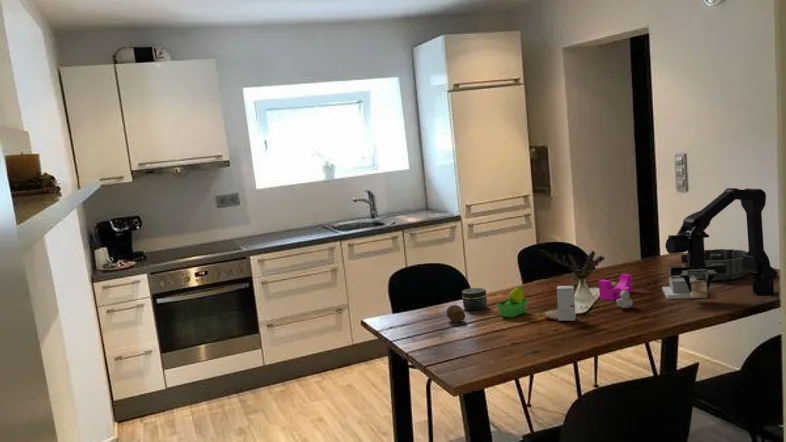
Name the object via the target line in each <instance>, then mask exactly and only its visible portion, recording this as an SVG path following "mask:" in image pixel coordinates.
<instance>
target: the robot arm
mask: <svg viewBox="0 0 786 442" xmlns="http://www.w3.org/2000/svg"><path fill="white" fill-rule="evenodd" d="M736 200H739V201H740V205H741V207H742V209H743V210H744V212H745V214H746V226H747V228H746V229H747V242H748V243H747V244H748V246H747V247H748V250H747V252H748V253H747V255H743V266H744V267H745V269H746V270H747V271H748V272H747V274H748V275H749V277H752V280H750V287H751V288H750V289H751V292H752V293H754V295H756V296H760V295H761V296H762V295H764V296H765V295H768V296H769V295H776V292H775V288H774V287H775V286H774V279H776V278H777V277H778V271H776V270H775V269H774V268H773V267H772V266H771V262H770V259H769V256H768V255H767V253H766V252H765V247H764V233H763V218H762V217H763V216H762V215H763V214H762V212H763V210H764V208H765V206H766V203H767V202H766V201H767V193H766V191H764V190H763V189H761V188H744V189H740V188H737V187H736V188H734V187H727V188H726V189H724V191H723V192H722V193H721V194H719V195H718V196H716V197H715V198H714V199H713V200H712V201H711V202H709V203H708V204H707V205H706V206H705V207H704V208H702V209H700V210H699V211H696V212H693V213H691V214H690V215H688V216H686V217H684V219H683V220H682V225H681V226H680V228H679V230H678V232H677V233H676V234H671V235H668V238H667V239H666V241H665V250H666V252H667V253H668V254H669V255H673V254H680V264H684V265H685V264H686V263H687V266H688V267H685V266H681V265H680V264H673V265H671V264H670V265H669V266H668V273H669V274H670V276H671V277H675V276H680V277H683V278H684V280H685V282H686V284H687V287H688V289H689V291H690V293H691V284H690V278H689V275H688V272H700V271H705V275H706V280H705V282H706V283H707V292H708V291H709V288H710V285H711V283H712V282H713V281H712V279H713V277H714V276H717V274H716V272H717V273H727V268H726V266H725V265H724V264H723V263H712V265H711V266H705V250H706V249H705V239H706V238H710V235H709V234H708V233H707V232H706V231H705V230H706V229H708V227H709V226H710V224H711V222H712V220H713V219H714V218H715V217H716V216H717V215H719V214H720V213H721V212H722V211H724V210H725V208H727V207H728V206H729V205H731V204H732V203H733V202H734V201H736ZM682 253H687V254H688V256H686V255H684V254H682ZM692 269H693V270H692Z"/></svg>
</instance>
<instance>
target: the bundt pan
mask: <svg viewBox="0 0 786 442" xmlns="http://www.w3.org/2000/svg"><path fill="white" fill-rule="evenodd" d="M704 250H705V266H711V265H712V263H723V264H724V265H725V266H726V268H727V273H717V272H716V274H717V276H714V277H713V279H712V281H711V282H718V281H723V282H725V281H726V280H728V281H731V280H736V279H741V278H742V277H744V276H745V275H746V274H748V271H747V270H746V269H745V267H744V266H743V255H747V253H748V251H746V250H743V249H733V248H731V249H729V248H728V249H726V248H722V249H721V248H717V249H716V248H715V249H704ZM683 255H686V256H688V254H687V252H685V253H684V254H683ZM684 267H688V266H687V263H686V264H684ZM692 270H693V269H692ZM688 275H689V276H694V277H695V278H696V279H697V280H704V281H705V280H706V275H705V271H700V272H688Z"/></svg>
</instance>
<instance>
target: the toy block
mask: <svg viewBox="0 0 786 442" xmlns="http://www.w3.org/2000/svg"><path fill="white" fill-rule="evenodd" d="M632 276H633V275H632V274H629V273H622V274H620V278H619V281H618V282H617V284H616V285H615V286H613V284H612V281H611V280H610V279H609V280H608V279H599V280H598V290H599V298H600V299H603V300H608V301H616V300H617V299H620V298H621V297H620V293H621V291H622V290H623V289H626V290H627V291H628V293H629V294H630V293H632V292H633V277H632ZM630 295H631V294H630Z"/></svg>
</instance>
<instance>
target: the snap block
mask: <svg viewBox="0 0 786 442" xmlns="http://www.w3.org/2000/svg"><path fill="white" fill-rule="evenodd" d="M690 284H691V293H690V295H691V296H692V297H707V298H708V291H707V283H706V282H705V281H704V280H703V279H697V280H694V281H690Z"/></svg>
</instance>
